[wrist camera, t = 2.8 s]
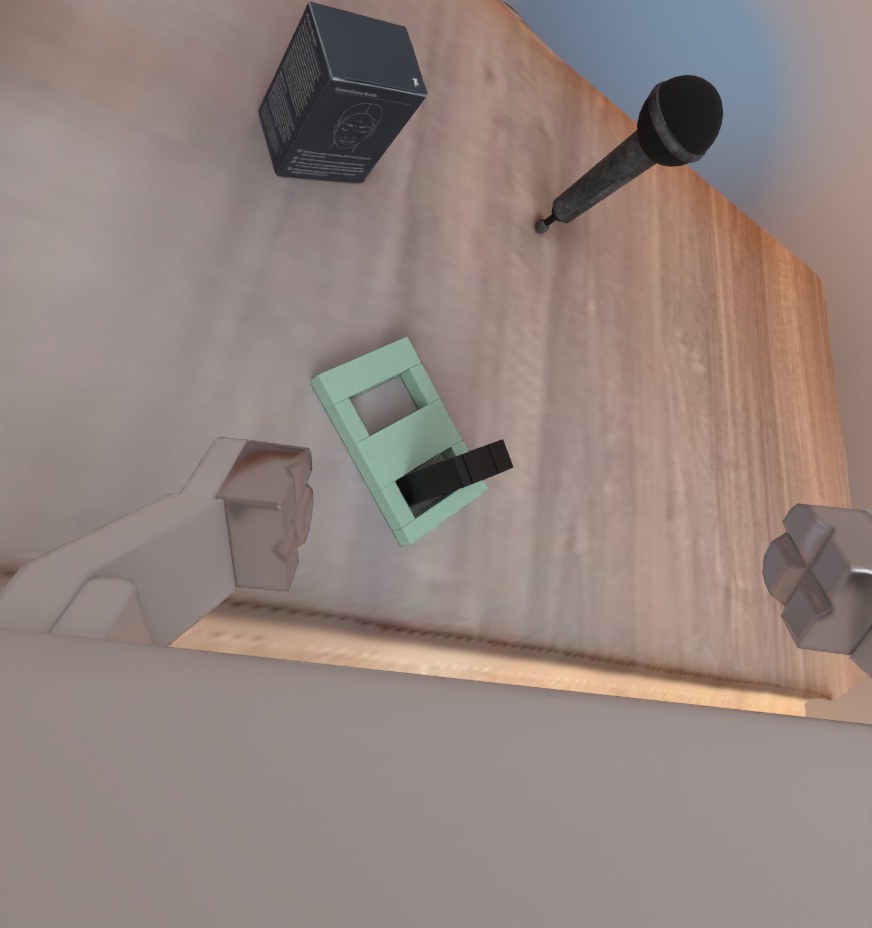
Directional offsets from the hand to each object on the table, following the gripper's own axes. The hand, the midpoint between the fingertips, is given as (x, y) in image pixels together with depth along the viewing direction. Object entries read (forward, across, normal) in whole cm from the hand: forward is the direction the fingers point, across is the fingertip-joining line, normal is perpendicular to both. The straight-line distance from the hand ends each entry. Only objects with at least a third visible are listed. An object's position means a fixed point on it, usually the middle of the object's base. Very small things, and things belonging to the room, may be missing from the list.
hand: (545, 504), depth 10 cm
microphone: (+58, -6, +10) cm, 59 cm away
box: (+46, +15, +3) cm, 49 cm away
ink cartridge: (+30, +3, +23) cm, 38 cm away
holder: (+32, +5, +20) cm, 38 cm away
